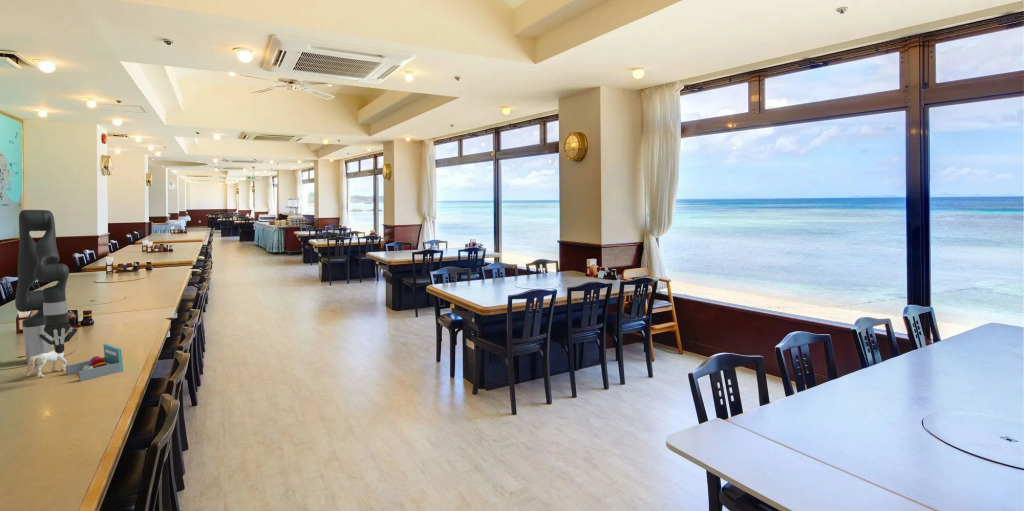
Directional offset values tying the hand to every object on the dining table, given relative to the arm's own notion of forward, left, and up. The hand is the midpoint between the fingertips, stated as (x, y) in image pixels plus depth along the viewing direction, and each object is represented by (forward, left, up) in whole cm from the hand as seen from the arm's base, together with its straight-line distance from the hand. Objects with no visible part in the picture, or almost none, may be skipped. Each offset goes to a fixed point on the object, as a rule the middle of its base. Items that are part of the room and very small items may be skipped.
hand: (59, 352), depth 214 cm
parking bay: (0, +12, -12) cm, 17 cm away
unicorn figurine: (-18, 0, -12) cm, 22 cm away
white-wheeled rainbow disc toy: (0, +12, -12) cm, 17 cm away
